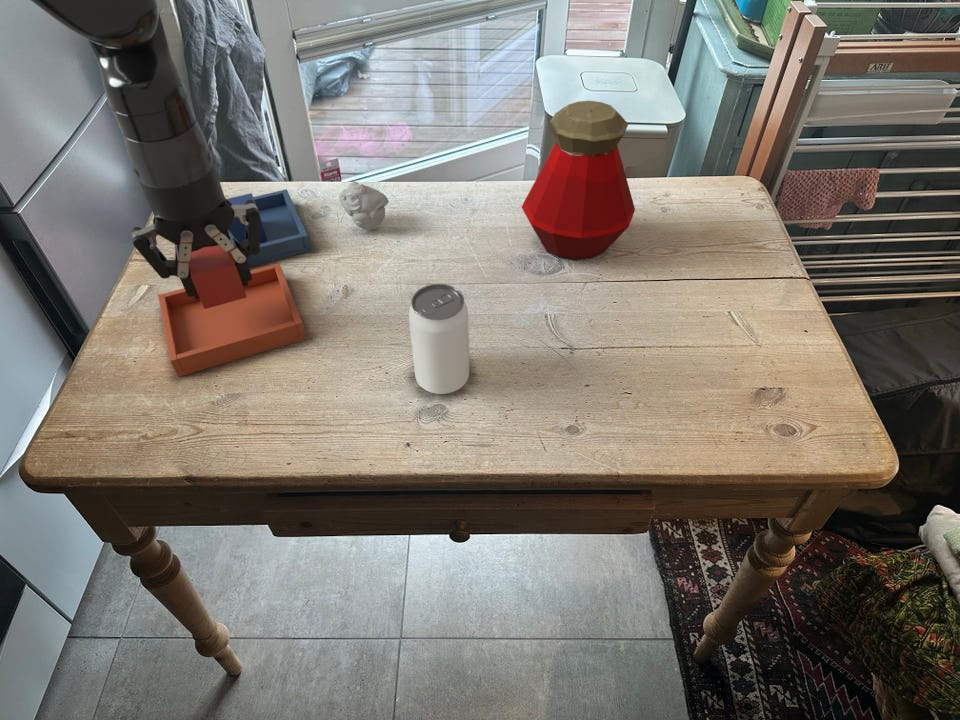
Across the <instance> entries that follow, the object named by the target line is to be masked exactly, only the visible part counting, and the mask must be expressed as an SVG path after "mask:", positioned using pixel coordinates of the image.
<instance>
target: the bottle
mask: <svg viewBox="0 0 960 720" xmlns="http://www.w3.org/2000/svg"><path fill="white" fill-rule="evenodd" d="M549 126H550V128H551V130H552V134H553V136H554V139H555V144H554V145H553V147H552V150H551V151H550V153H549V155H548V157H547V159H546V161H545V163H544V164H543V166H542V168H541V170H540V172H539V173H538V175H537V176H536V179H535V181H534V183H533V184H532V187H531V188H530V190H529V192H528V193H527V195H526V197H525V199H524V201H523V203H522V205H521V210H522V211H523V214H524V215H525V217H526V218H527V220H528V222H529V224H530V226H531V227H532V228H533V231H534V233H535V234H536V236H537V237H538V240H539V241H540V244H542V246H543V248H544V250H545V251H546V253H548V254H550V255H553V256H555V257H557V258H560V259H564V260H570V261H582V260H591V259H594V258H596V257H598V256H601V255H603V254H604V253H605V252H606V251H607V250H608V249H609V248H610V247H611V246H612V245H613V244H614V243H615V242H616V241H617V240H618V239H619V238H620V237H621V236H622V235H623V233H624V232H626V230H627V229H628V228H629V227H630V225H631V222H632V220H633V217H634V214H635V211H636V207H635V204H634V199H633V196H632V193H631V189H630V185H629V183H628V178H627V176H626V175H627V174H626V172H625V167H624V165H623V164H624V163H623V161H622V157H621V154H620V151H619V147H618V144H619V143H620V141H621V140H622V138H623V137H624V135H625V133H626V131H627V129H628V126H629V123H628V122H627V121H626V119H624V116H622V115H621V114H620V113H619V112H618V111H617V110H616V108H614V107H613V106H612V105H611V104H608V103H605V102H603V101H595V100H581V101H575V102H572V103H569V104H567V105H566V106H564V107H562V108H561V109H560V110H558V111H556V112H555V113H554V115H553V116H552V118H551V119H550V121H549Z"/></svg>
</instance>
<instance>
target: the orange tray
mask: <svg viewBox="0 0 960 720" xmlns="http://www.w3.org/2000/svg"><path fill="white" fill-rule="evenodd" d="M250 272H251V275H252V280H251V281H247V282H248V285H249V286H245V287H244V290H245V293H246V298H243V299H239V300H236V301H232V302H229V303H225V304H221V305H218V306H214V307H211V308H207V309H204V307H203V304H202V302H201V300H200V299H198V300H195V297H194V296H192V297H189V296H188V295H187V294H186V291H185V289H184V287H183V288H180V289H175V290H172V291H167V292H164V293H160V294H157V297H158V303H159V308H160V313H161V320H162V325H163V330H164V335H165V340H166V346H167V351H168V356H169V357H168V358H169V362H170V364H171V366H172V368H173V370H174V371H175V374H176V376H177V378H180V377H182V376H185V375H189V374H192V373H196V372H199V371H203V370H206V369H209V368H212V367H213V368H214V367H216V366H219V365H222V364H226V363H229V362H233V361H236V360H239V359H243V358H246V357H250V356H252V355H253V356H254V355H256V354H259V353H263V352H266V351H270V350H272V349H276V348H280V347H284V346H286V345H291V344H293V343H296V342H299V341H303V340H307V334H306V330H305V327H304V323H303V321H302V318H301V315H300V313H299V309H298V308H297V305H296V302H295V300H294V297H293V295H292V292H291V289H290V287H289V284H288V282H287V279H286V277H285V274H284V271H283V268H282V266H281V263H279V262H278V263H274V264H271V265H266V266H262V267H258V268H256V269H251V270H250Z"/></svg>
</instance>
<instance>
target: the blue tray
mask: <svg viewBox="0 0 960 720" xmlns="http://www.w3.org/2000/svg"><path fill="white" fill-rule="evenodd" d="M253 198H254V200H255V203H256V205H257V208H258V211H259V214H260V217H261V221H262V224H263V228H264V231H265V235H266V238H267V241H264V242H260V252H259V253H258V254H257V255H250V256H249V257H248V258H247V263H248V266H249V268H251V267H256V266H259V265H263V264H266V263H270V262H274V261H278V260H282V259H286V258H291V257H295V256H297V255H298V256H299V255H301V254H306V253H309V252H312V248H311V247H312V246H311V243H310V240H309V234H308V232H307V231H306V229H305V228H306V227H304V223H303V222H302V220H301V217H300V215H299V213H298V211H297V208H296V206H295V204H294V202H293V200H292V197H291V196H290V193H289V191H288V188H287V189H282V190H277V191H273V192H268V193H264V194H260V195H255V196H253Z"/></svg>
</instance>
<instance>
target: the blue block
mask: <svg viewBox="0 0 960 720" xmlns="http://www.w3.org/2000/svg"><path fill="white" fill-rule="evenodd" d="M253 197H254V196H253V193H247V194H242V195H237V196H234V197H229V198H226V199H227V200H228V201H229V202H230V203H231V204H232V205H244V204H245V202H246V201H247V200H253V201H254V202H255V200H254V198H253ZM255 204H256V203H255ZM256 207H257V205H256ZM257 209H258V208H257ZM258 212H259V211H258ZM229 231H230V232H231V234H232V235H233V237H234V238H235V239H236V240H237V241H238V242H239V243H241V242H243V241H245V224H242V223H241V222H240V219H239V218H238V217H236V216H234V218H233V220H232V223H231V225H230V227H229ZM264 241H267V238H266V235H265V231H264V228H263V224H262V221H261V217H260V242H264Z"/></svg>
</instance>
